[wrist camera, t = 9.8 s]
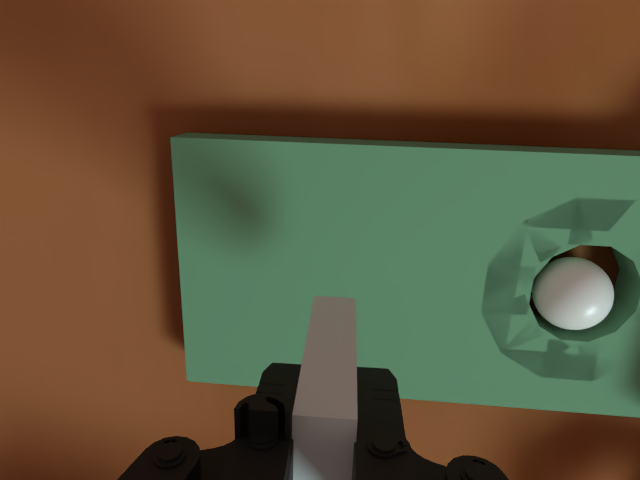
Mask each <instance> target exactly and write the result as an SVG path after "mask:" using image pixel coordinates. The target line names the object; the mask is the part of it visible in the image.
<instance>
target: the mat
mask: <svg viewBox="0 0 640 480" xmlns="http://www.w3.org/2000/svg"><path fill="white" fill-rule="evenodd" d="M170 141H171V156H172V170H173V185H174V200H175V214H176V229H177V243H178V258H179V272H180V287H181V301H182V316H183V331H184V345H185V360H186V374H187V381H193V382H205V383H218V384H230V385H242V386H255V387H258V385H259V382H260V379H261V375H262V372H263V371H264V370H265V369H266V368H267V367H268V366H269V365H270V364H271V363H287V364H302V359H303V354H304V348H305V343H306V338H307V332H308V327H309V321H310V316H311V310H312V305H313V300H314V296H326V297H344V298H356V345H357V367H370V368H386V369H389V370H390V371H391V373H392V374H393V375H394V376H395V377H396V379H397V384H398V393H399V397H400V398H403V399H416V400H428V401H440V402H453V403H465V404H477V405H490V406H502V407H515V408H527V409H539V410H552V411H564V412H576V413H589V414H601V415H614V416H626V417H638V418H640V151H639V150H614V149H589V148H564V147H539V146H514V145H488V144H463V143H438V142H413V141H388V140H363V139H338V138H312V137H287V136H262V135H237V134H212V133H183V134H180V135H176V136H173V137H170ZM579 245H592V246H611V248H612V251H613V253H614V256H615V258H616V261H617V264H618V266H619V271H618V275H617V279H616V284H615V288H614V301H613V305H612V308H611V310H610V312H609V313H608V315H607V316H606V317H605V318H604V319H603V320H602V321H601V322H600V323H598V324H596V325H595V326H592V327H590V328H586V329H582V330H569V329H563V328H560V327H557V326H555V325H553V324H551V323H550V322H548V321H547V320H546V319H544V318H542V317H541V316H539V315H538V314H536V313H535V312H533V311H532V310H531V308H530V305H529V301H530V296H531V291H532V285H533V280H534V278H535V277H536V276H537V274H538V273H539V272H540V271H541V270H542V269H543V267H544V266H545V265H546V264H547V263H548V262H549V260H550V259H551V258H552V257H554V256H556V255H558V254H561V253H563V252H565V251H568V250H570V249H572V248H575V247H577V246H579Z"/></svg>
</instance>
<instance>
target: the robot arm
mask: <svg viewBox="0 0 640 480" xmlns="http://www.w3.org/2000/svg"><path fill="white" fill-rule="evenodd" d="M234 419H235V440H234V441H232V442H231V443H228V444H226V445H224V446H220V447H217V448H212V449H206V450H200V448H199V446H198V445H197V444H196V442H195V441H193V440H191V439H189V438H187V437H179V436H174V437H168V438H163V439H161V440H159V441H157V442H154V443H153V444H152V445H150V446H149V447H148V448H146V449H145V450H144V451H143V452H142V454H141V455H140V456H139V457H138V458H137V459H136V460H135V461H134V462H133V463H132V464H131V465H130V467H129V468H128V469H127V470H126V471H125V472H124V473H123V474H122V475H121V476H120V477H119V478H118V480H508V478H507V477H506V475H505V474H504V473H503V472H502V471H501V470H500V469H499V468H498V467H497V466H496V465H494V464H493V463H491V462H489V461H488V460H486V459H483V458H479V457H476V456H464V455H463V456H460V457H456V458H454V459H452V460H451V461H450V462H449V463H448V465H447V467H446V466H443V465H440V464H437V463H434V462H431V461H429V460H426V459H424V458H423V457H421V456H420V455H418V454H417V453H416V452H414V451H413V450H412V448H411V446H410V444H409V442H408V441H407V440H406V437H405V430H404V424H403V417H402V411H401V404H400V397H399V393H398V384H397V379H396V377H395V376H394V375H393V374H392V373H391V371H390V370H389V369H386V368H370V367H357V345H356V298H344V297H326V296H314V300H313V305H312V310H311V316H310V321H309V327H308V332H307V338H306V343H305V348H304V354H303V359H302V364H287V363H271V364H270V365H269V366H268V367H267V368H266V369H265V370H264V371H263V372H262V375H261V379H260V382H259V385H258V388H257V391H256V394H254V395H251V396H248V397H246V398H244V399H243V400H241V401H239V402H238V404H237V405H236V407H235V408H234Z"/></svg>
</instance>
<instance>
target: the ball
mask: <svg viewBox="0 0 640 480" xmlns="http://www.w3.org/2000/svg"><path fill="white" fill-rule="evenodd" d="M532 298H533V302H534V304H535V307H536V308H537V310H538V312H539V313H540V314H541V315H542V316H543V317H544V318H545V319H546V320H547V321H548V322H550V323H551V324H553V325H555V326H557V327H560V328H563V329H569V330H582V329H586V328H590V327H592V326H595V325H596V324H598V323H600V322H601V321H602V320H603V319H604V318H605V317H606V316H607V315H608V313H609V312H610V310H611V308H612V305H613V301H614V289H613V285H612V282H611V280H610V278H609V277H608V275H607V274H606V273H605V272H604V270H603V269H601V268H600V267H599V266H598V265H596V264H595V263H593V262H591V261H589V260H586V259H583V258H578V257H564V258H559V259H556V260H554V261H551V262H549V263H548V264H546V265H545V266H544V267H543V269H542V270H541V271H540V272H539V273H538V274H537V276H536V277H535V279H534V282H533V286H532Z"/></svg>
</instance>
